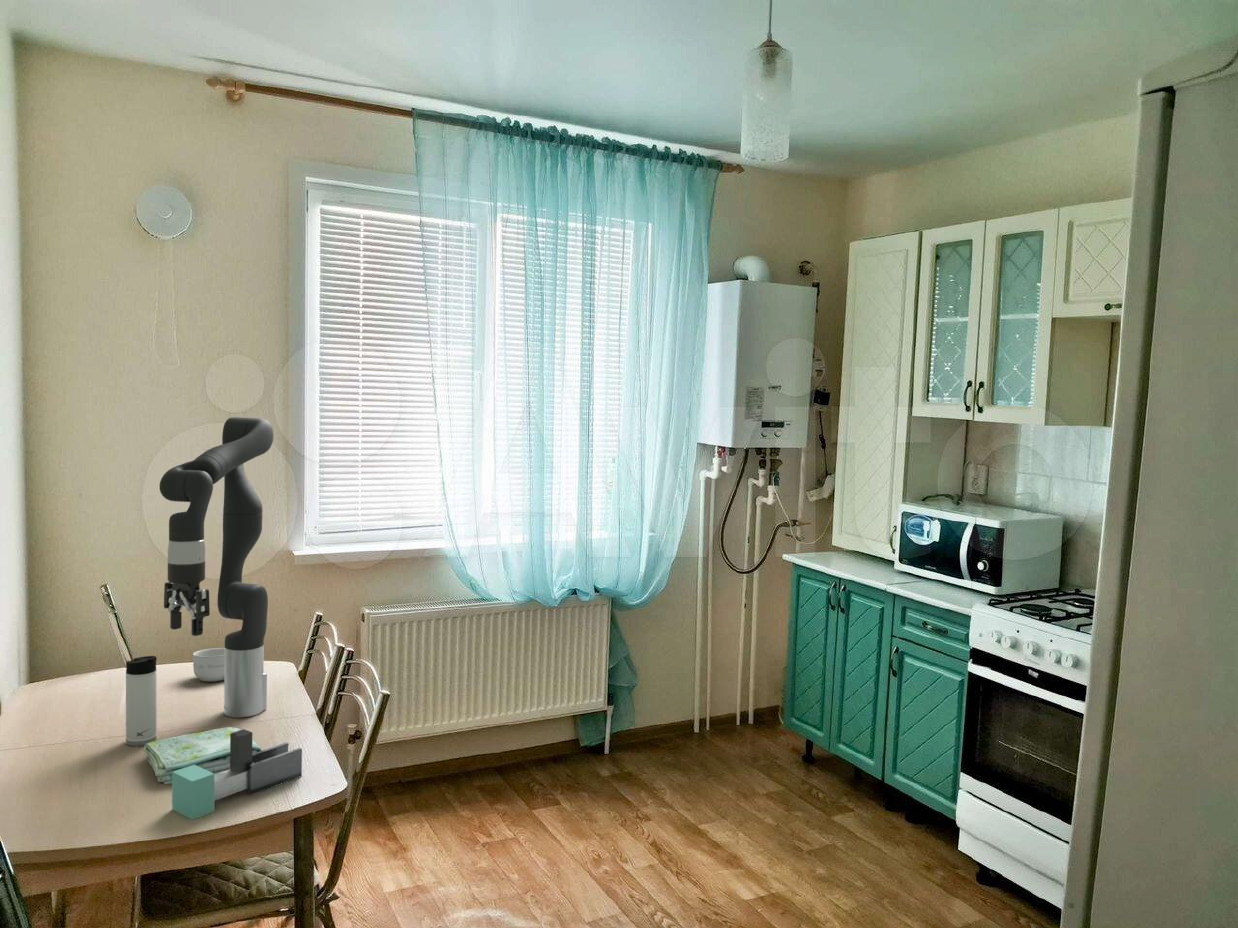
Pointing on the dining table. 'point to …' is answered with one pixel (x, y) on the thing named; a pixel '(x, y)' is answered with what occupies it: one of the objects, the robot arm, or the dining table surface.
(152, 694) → the travel mug
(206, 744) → the towel
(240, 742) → the inner bar
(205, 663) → the teacup
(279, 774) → the sleeve
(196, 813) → the socket block
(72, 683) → the dining table surface
